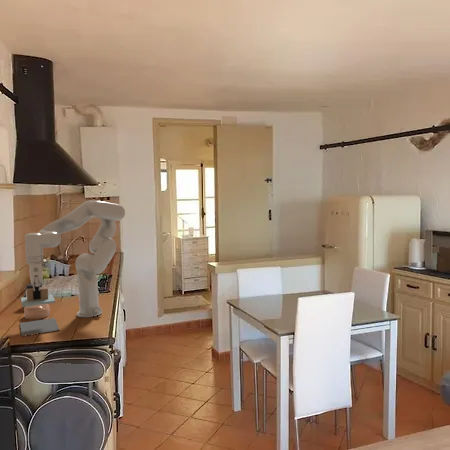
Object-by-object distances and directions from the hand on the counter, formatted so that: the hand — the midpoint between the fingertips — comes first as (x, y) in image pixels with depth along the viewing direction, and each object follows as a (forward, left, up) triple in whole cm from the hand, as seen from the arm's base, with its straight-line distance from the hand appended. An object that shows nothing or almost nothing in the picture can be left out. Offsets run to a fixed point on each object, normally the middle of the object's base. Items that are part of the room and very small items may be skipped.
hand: (36, 297), depth 213 cm
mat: (0, 0, -15) cm, 15 cm away
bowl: (+17, -10, -15) cm, 25 cm away
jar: (+36, -22, -15) cm, 45 cm away
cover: (0, 0, -2) cm, 2 cm away
